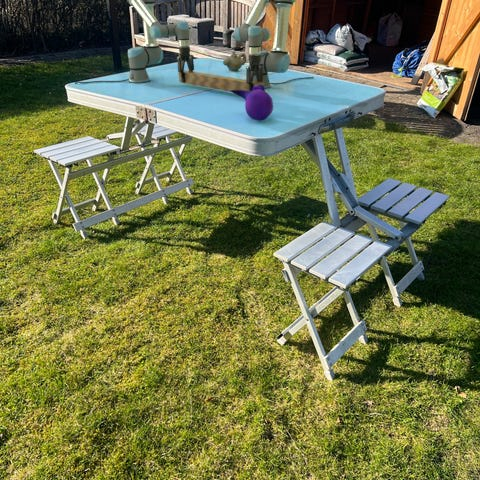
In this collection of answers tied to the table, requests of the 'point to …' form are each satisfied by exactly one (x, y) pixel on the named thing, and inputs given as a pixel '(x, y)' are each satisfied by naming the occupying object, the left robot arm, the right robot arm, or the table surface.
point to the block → (216, 81)
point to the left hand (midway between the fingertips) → (187, 81)
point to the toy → (256, 102)
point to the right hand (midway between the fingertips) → (254, 94)
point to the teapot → (235, 61)
